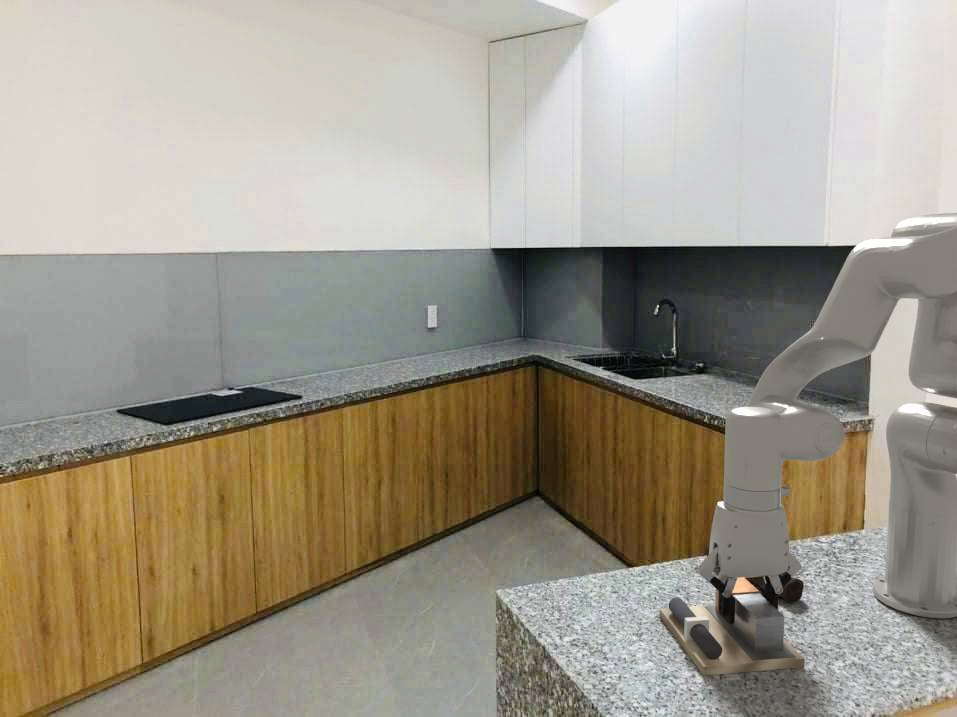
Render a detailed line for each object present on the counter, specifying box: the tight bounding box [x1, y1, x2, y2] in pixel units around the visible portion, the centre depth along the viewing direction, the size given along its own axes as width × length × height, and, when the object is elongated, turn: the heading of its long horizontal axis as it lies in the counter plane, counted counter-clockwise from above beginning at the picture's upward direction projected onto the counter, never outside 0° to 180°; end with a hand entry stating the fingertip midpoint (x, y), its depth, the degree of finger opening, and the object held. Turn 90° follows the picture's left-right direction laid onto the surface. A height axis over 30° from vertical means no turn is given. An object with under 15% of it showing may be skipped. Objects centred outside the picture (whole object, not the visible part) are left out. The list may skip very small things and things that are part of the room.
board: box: [659, 604, 806, 676], centre depth 102 cm, size 14×16×1 cm
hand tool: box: [706, 543, 805, 605], centre depth 121 cm, size 19×4×5 cm, turn 25°
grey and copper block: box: [714, 578, 785, 653], centre depth 102 cm, size 4×12×5 cm, turn 6°
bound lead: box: [668, 596, 722, 660], centre depth 101 cm, size 3×13×3 cm, turn 6°
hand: (747, 616), depth 102 cm, fingers open, 5 cm apart
